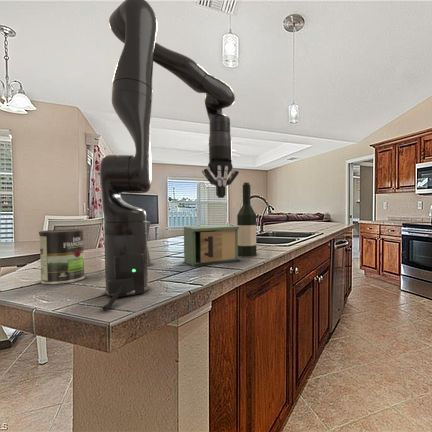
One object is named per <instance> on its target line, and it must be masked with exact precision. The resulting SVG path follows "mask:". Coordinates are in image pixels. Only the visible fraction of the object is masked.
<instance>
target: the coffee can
mask: <svg viewBox="0 0 432 432" xmlns="http://www.w3.org/2000/svg"><path fill="white" fill-rule="evenodd" d="M38 235H39V256H40V257H39V258H40V261H39V262H40V283H41V284H42V285H62V284H70V283H75V282H80V281H82V280H84V279H85V278H86V277H85V257H84V254H85V253H84V229H80V228H79V229H78V228H77V229H76V228H75V229H73V228H71V229H50V230H49V229H48V230H41V231H38Z"/></svg>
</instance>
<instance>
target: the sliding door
mask: <svg viewBox="0 0 432 432" xmlns="http://www.w3.org/2000/svg"><path fill="white" fill-rule="evenodd" d="M213 261H222V231H213V232H200V263H205V262H213Z"/></svg>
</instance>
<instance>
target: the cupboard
mask: <svg viewBox="0 0 432 432" xmlns="http://www.w3.org/2000/svg"><path fill="white" fill-rule="evenodd" d="M238 229H239V226H237V225H232V224H214V225H194V226H193V225H192V226H183V262H184V263H185V264H187V265H189V266H192V267H203V266H204V267H205V266H211V265H220V264H221V265H222V264H228V263H237V262H240V259H239V256H238ZM213 231H222V261H213V262H205V263H200V232H213Z"/></svg>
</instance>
